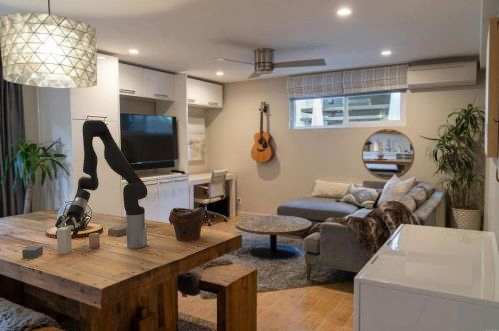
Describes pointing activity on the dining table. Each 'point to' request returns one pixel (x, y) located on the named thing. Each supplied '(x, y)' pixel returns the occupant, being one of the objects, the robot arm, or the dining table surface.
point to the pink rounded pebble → (94, 240)
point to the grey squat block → (32, 252)
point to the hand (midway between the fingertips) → (65, 235)
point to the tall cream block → (64, 240)
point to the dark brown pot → (187, 223)
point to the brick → (118, 230)
